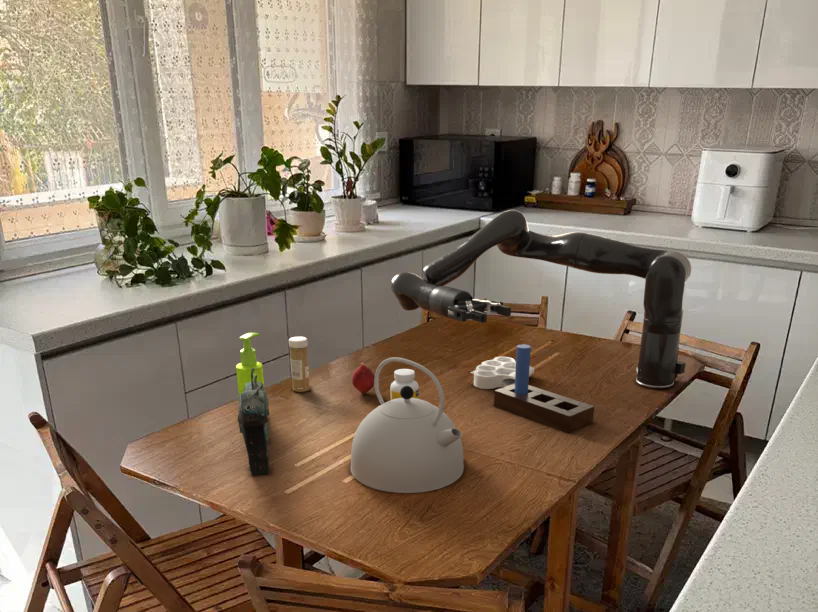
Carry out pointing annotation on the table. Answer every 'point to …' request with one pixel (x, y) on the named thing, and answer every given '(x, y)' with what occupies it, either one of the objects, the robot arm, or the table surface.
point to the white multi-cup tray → (496, 373)
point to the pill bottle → (404, 383)
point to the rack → (545, 407)
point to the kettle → (407, 443)
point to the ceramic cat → (255, 425)
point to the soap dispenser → (248, 363)
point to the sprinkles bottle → (299, 363)
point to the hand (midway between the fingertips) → (498, 315)
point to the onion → (363, 379)
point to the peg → (522, 369)
